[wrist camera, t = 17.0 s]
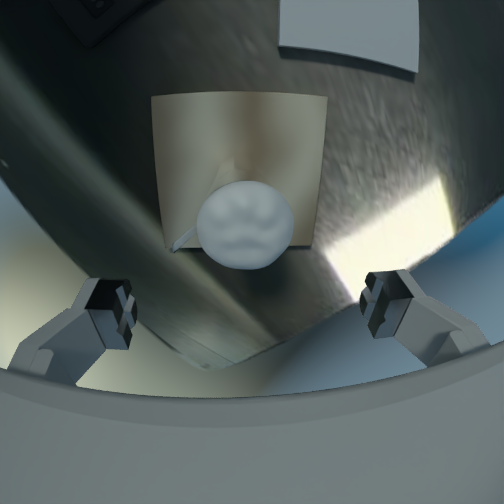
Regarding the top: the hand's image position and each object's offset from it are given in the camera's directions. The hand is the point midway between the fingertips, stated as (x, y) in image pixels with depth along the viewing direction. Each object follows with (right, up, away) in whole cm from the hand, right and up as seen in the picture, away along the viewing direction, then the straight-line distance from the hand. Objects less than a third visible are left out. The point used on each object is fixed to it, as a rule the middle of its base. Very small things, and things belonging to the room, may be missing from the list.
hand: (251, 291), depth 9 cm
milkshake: (-1, +7, +11) cm, 13 cm away
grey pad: (+7, +20, +4) cm, 22 cm away
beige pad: (-1, +7, +11) cm, 14 cm away
